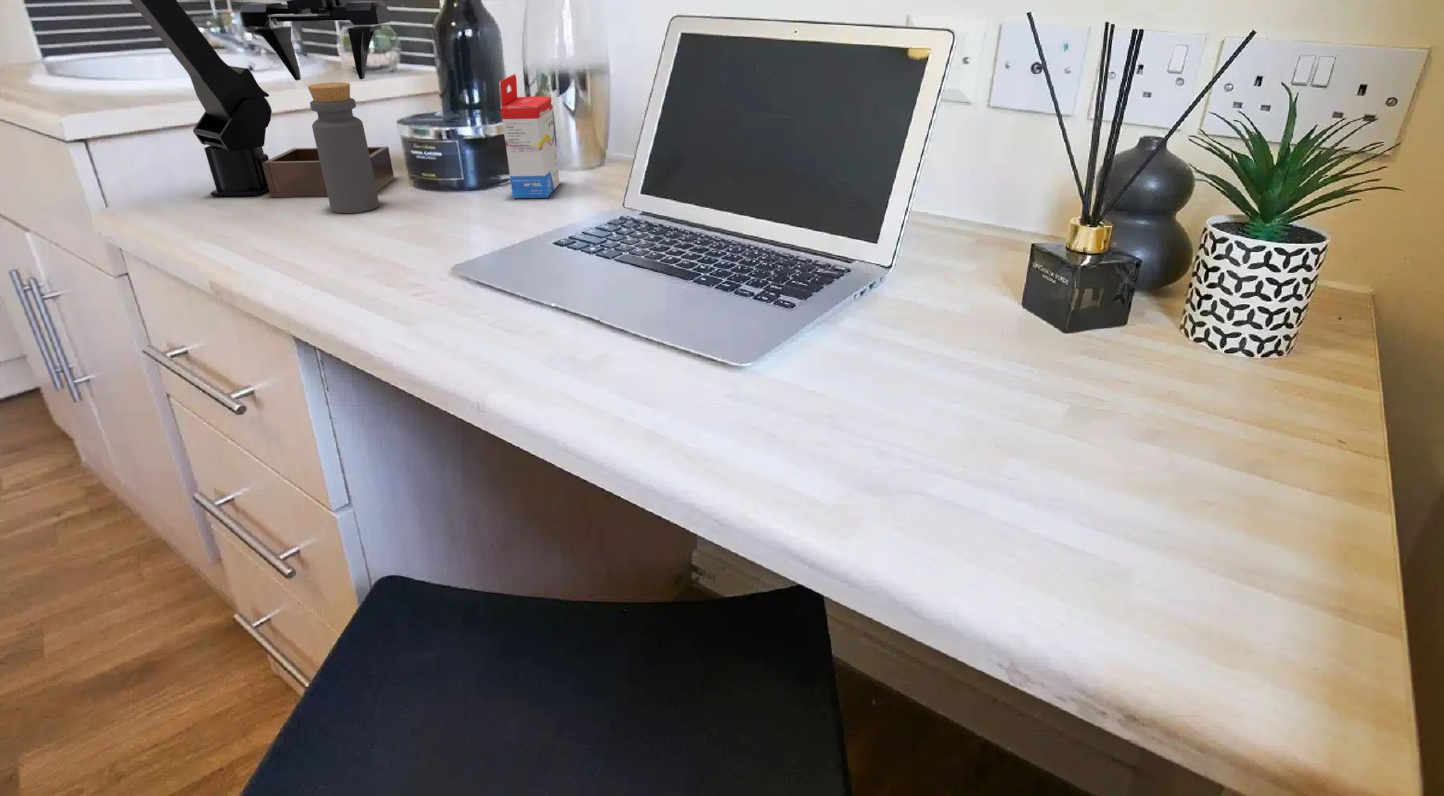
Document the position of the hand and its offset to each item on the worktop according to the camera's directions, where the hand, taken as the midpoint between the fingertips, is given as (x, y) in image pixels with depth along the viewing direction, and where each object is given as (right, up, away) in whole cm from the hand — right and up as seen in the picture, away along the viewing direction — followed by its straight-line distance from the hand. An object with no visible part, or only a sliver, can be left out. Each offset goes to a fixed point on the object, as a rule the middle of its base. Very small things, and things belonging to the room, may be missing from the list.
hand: (330, 79), depth 122 cm
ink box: (+31, -18, -7) cm, 37 cm away
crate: (+2, -17, -4) cm, 17 cm away
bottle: (+9, -22, -13) cm, 27 cm away
